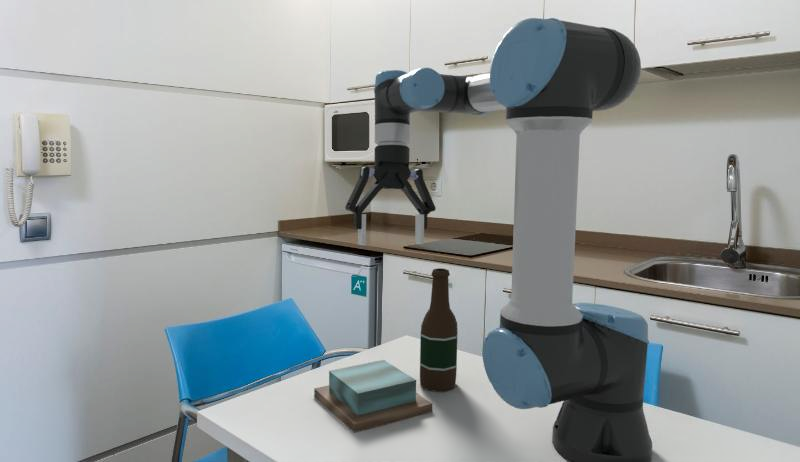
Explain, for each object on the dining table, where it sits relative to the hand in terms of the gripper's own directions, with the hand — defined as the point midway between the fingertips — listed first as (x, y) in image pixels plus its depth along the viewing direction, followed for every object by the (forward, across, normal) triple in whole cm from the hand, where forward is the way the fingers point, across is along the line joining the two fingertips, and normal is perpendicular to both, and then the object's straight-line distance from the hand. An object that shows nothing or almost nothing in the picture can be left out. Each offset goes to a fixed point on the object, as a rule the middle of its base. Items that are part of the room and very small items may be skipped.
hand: (391, 244), depth 123 cm
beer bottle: (+28, -6, +11) cm, 31 cm away
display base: (+29, +10, +13) cm, 34 cm away
